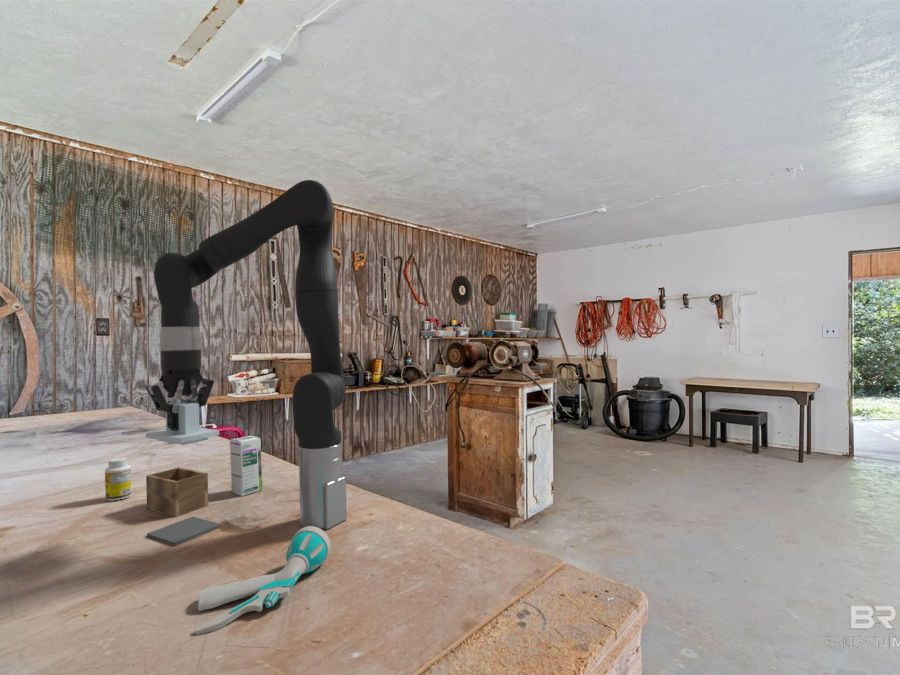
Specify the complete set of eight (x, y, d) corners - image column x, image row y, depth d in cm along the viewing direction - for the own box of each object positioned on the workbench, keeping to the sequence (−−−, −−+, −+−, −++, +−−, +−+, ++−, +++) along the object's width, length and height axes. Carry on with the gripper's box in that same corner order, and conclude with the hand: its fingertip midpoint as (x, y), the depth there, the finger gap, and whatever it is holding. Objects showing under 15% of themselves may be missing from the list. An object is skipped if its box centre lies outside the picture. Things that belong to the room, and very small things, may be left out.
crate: (208, 505, 113) (207, 473, 113) (175, 516, 106) (175, 482, 106) (179, 497, 118) (178, 467, 118) (146, 508, 111) (146, 475, 111)
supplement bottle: (109, 496, 121) (108, 458, 121) (134, 493, 123) (133, 455, 123) (102, 503, 116) (101, 463, 116) (128, 499, 118) (127, 460, 118)
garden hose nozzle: (184, 612, 62) (333, 571, 68) (209, 545, 79) (327, 517, 85) (193, 659, 63) (339, 614, 69) (215, 583, 80) (332, 552, 86)
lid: (219, 438, 98) (218, 402, 98) (180, 447, 91) (179, 408, 91) (184, 433, 104) (184, 399, 104) (145, 441, 97) (145, 405, 97)
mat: (221, 526, 99) (221, 524, 99) (175, 545, 91) (175, 542, 91) (193, 518, 104) (193, 516, 104) (146, 536, 95) (146, 533, 95)
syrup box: (242, 496, 118) (240, 441, 118) (230, 492, 122) (229, 438, 122) (262, 490, 123) (261, 437, 123) (251, 486, 126) (249, 434, 126)
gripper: (157, 349, 89) (158, 437, 89) (222, 347, 102) (224, 424, 102) (136, 349, 93) (137, 433, 93) (201, 347, 105) (203, 421, 105)
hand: (182, 428), depth 97 cm, fingers closed on lid, 3 cm apart
